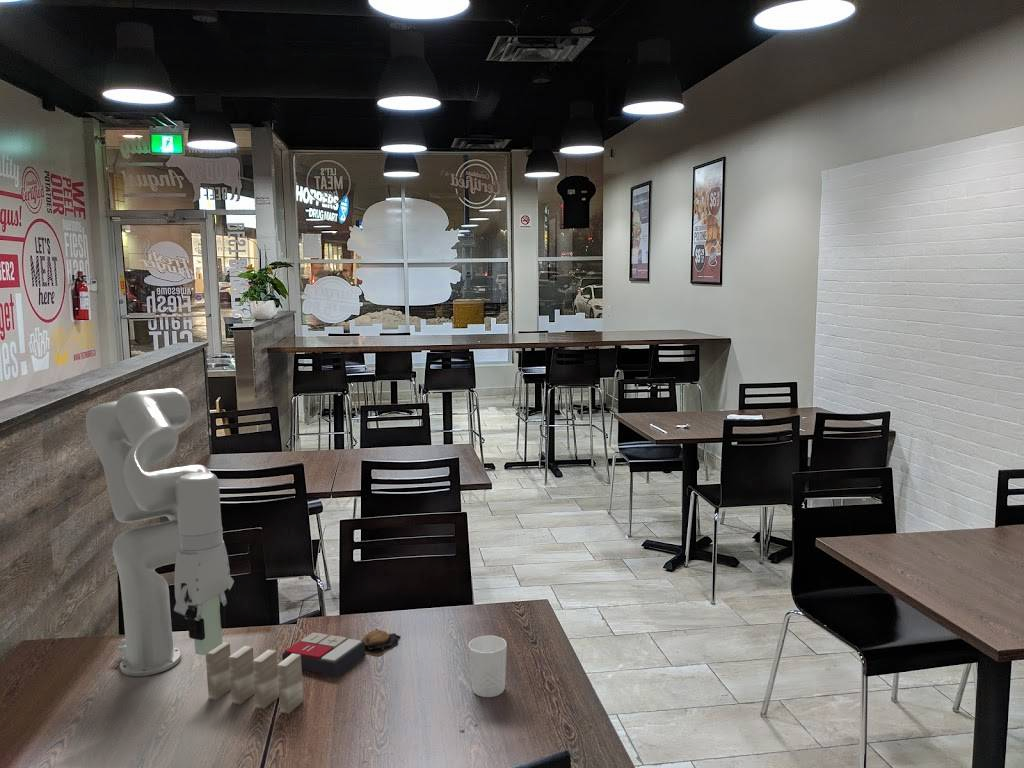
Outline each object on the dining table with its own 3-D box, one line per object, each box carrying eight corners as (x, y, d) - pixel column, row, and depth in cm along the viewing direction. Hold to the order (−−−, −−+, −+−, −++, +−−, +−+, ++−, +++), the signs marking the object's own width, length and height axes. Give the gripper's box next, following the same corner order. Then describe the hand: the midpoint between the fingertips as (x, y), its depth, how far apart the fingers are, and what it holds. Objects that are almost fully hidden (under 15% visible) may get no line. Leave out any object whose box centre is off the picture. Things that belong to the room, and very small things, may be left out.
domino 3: (232, 703, 158) (228, 656, 157) (247, 690, 163) (244, 645, 162) (240, 704, 158) (237, 658, 156) (255, 692, 162) (252, 646, 161)
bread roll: (380, 660, 177) (379, 644, 176) (350, 653, 180) (349, 638, 180) (405, 640, 186) (405, 625, 186) (376, 633, 190) (375, 619, 189)
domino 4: (255, 707, 157) (252, 660, 155) (271, 695, 161) (268, 649, 160) (264, 709, 156) (261, 662, 155) (279, 696, 161) (276, 650, 159)
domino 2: (208, 698, 160) (205, 652, 159) (224, 686, 165) (221, 641, 164) (216, 700, 160) (213, 654, 158) (232, 688, 164) (229, 643, 163)
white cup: (513, 684, 164) (512, 639, 163) (497, 702, 157) (496, 655, 155) (480, 676, 167) (479, 632, 166) (462, 694, 160) (461, 648, 159)
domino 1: (195, 653, 146) (191, 602, 144) (214, 642, 150) (210, 592, 149) (204, 655, 145) (200, 604, 144) (222, 643, 150) (218, 593, 148)
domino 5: (280, 712, 155) (277, 664, 153) (294, 699, 159) (292, 653, 158) (288, 713, 154) (286, 666, 153) (303, 701, 159) (300, 654, 157)
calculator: (312, 630, 184) (364, 638, 177) (314, 647, 184) (366, 656, 178) (280, 650, 174) (334, 659, 167) (282, 668, 174) (336, 678, 168)
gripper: (216, 524, 154) (222, 611, 156) (150, 552, 138) (158, 649, 140) (247, 527, 151) (253, 616, 154) (183, 556, 136) (191, 655, 138)
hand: (207, 631), depth 147 cm, fingers closed on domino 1, 4 cm apart
